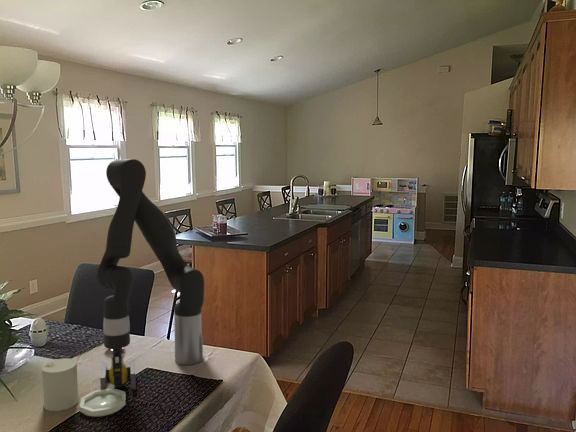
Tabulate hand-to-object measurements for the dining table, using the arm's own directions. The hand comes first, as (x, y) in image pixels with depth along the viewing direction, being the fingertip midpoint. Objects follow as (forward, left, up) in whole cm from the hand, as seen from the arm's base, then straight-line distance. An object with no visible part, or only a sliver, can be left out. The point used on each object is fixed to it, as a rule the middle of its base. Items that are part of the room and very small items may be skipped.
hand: (118, 380), depth 145 cm
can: (+15, +5, -2) cm, 16 cm away
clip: (0, -2, -2) cm, 3 cm away
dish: (+4, +10, -2) cm, 11 cm away
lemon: (0, 0, -2) cm, 2 cm away
